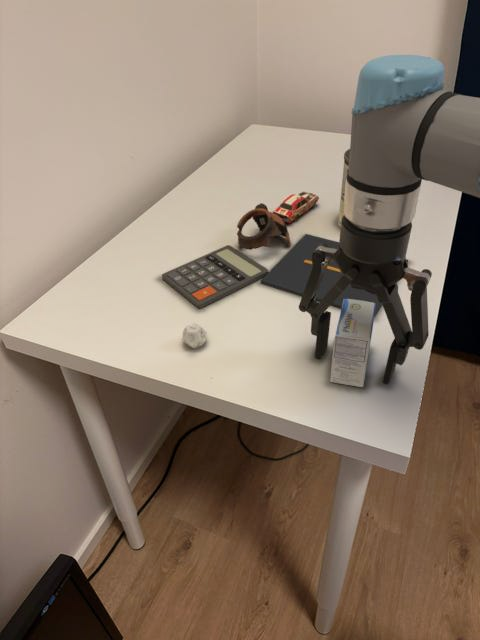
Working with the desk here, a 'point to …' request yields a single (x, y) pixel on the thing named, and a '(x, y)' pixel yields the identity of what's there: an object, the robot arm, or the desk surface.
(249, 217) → the brown looped frame
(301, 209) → the race car
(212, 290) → the calculator
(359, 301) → the medicine box
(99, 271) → the desk surface
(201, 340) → the game die
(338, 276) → the mat
